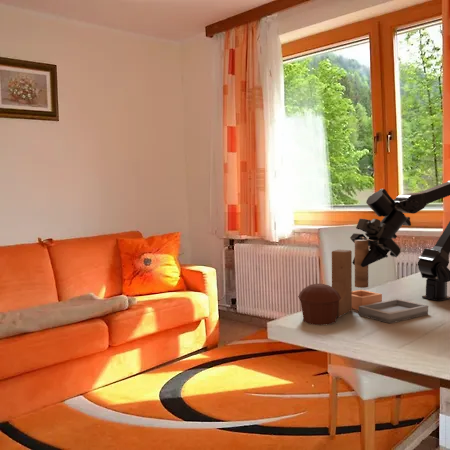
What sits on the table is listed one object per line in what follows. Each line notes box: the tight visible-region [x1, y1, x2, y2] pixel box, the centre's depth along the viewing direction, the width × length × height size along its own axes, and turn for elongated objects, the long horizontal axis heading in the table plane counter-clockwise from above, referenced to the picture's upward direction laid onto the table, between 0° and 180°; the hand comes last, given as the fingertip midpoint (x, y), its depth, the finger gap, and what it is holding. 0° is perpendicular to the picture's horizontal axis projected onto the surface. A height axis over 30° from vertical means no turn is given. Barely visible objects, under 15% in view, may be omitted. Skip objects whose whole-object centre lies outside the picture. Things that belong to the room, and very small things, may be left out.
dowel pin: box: [354, 240, 369, 289], centre depth 154 cm, size 4×4×14 cm
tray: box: [358, 298, 429, 324], centre depth 145 cm, size 16×11×2 cm
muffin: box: [298, 283, 341, 326], centre depth 140 cm, size 12×11×10 cm
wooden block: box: [331, 249, 353, 318], centre depth 148 cm, size 9×4×18 cm, turn 143°
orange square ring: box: [352, 289, 383, 311], centre depth 155 cm, size 8×8×4 cm
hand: (357, 265), depth 154 cm, fingers closed on dowel pin, 4 cm apart
